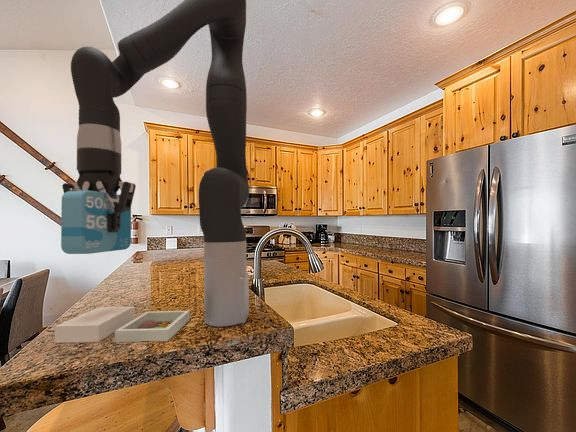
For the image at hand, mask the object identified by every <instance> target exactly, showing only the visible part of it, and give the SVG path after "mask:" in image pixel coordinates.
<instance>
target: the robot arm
mask: <svg viewBox="0 0 576 432" xmlns="http://www.w3.org/2000/svg"><path fill="white" fill-rule="evenodd" d="M206 26H208V29H209V35H210V43H211V61H210V66H209V70H208V71H207V72H208V73H207V78H206V83H205V113H206V119H207V123H208V128H209V131H210V132H209V133H210V135H211V138H212V142H213V145H214V150H215V158H216V162H215V163H216V164H215V165H216V167H213V168H210V169H208V170H207V171H205V173H204V174H203V176H202V177H201V179H200V182H199V186H198V209H199V210H198V213H199V225H200V229H201V232H202V234H203V269H204V270H203V275H204V276H203V277H204V278H203V285H204V286H203V290H204V293H203V294H204V295H203V299H204V305H203V306H204V323H205V324H206V325H208V326H211V327H219V328H220V327H230V326H235V325H240V324H245V323H246V322H247V319H248V317H249V315H250V295H249V294H250V290H249V289H250V288H249V287H250V283H249V282H250V281H249V272H247V270H248V268H247V264H248V263H247V259H248V258H247V229H246V227H245V226H244V224H243V220H242V208H244V206H245V205H246V203H247V202H248V199H249V195H250V185H249V184H250V183H249V177H248V169H247V168H248V167H247V157H246V156H247V155H246V145H247V144H246V142H247V110H248V109H247V108H248V107H247V105H248V104H247V99H248V98H247V84H246V77H245V71H244V66H243V65H244V63H243V52H244V41H245V34H246V26H247V0H183V1H181V2H180V3H179V4H177V6H175V7H174V8H173V9H171V10H170V11H169V12H168V13H166V14H165V15H163V16H162V17H161V18H159V19H157V20H156V21H153V23H151V24H148V25H147V26H145V27H143V28H141V29H139V30H137V31H134V32H133V33H131V34H129V35H127V36H124V37H123V38H122V39H119V41H118V42H117V49H118V51H119V54H118V56H117V57H116V58H115V59H114V60H113V61H112V59H110V58H109V56H107V54H105V53H104V52H103V51H102V50H100V49H98V48H95V47H93V46H82V47H80V48H78V49H77V50H76V51H75V52H74V54H73V55H72V58H71V61H70V72H71V73H70V75H71V79H72V83H73V88H74V93H75V96H76V99H77V102H78V129H77V135H76V171H77V172H78V178H77V180H76V181H75V182H71V183H68V182H64V183H63V184H62V190H63V194H64V193H66V192H68V191H86V190H89V191H96V192H103V193H104V203H105V204H106V206H107V208H108V211H109V213H110V214H108V232H118V229H120V227H121V213H122V212H125V211H129V210H130V208H131V209H132V204H133V199H134V196H135V191H136V184H135V183H133V182H129V181H123V180H122V177H121V175H122V140H121V114H120V110H119V107H118V106H117V104H116V103H115V101H114V98H117V97H120V96H123V95H124V94H126V93H127V92H128V91H130V89H132V88H133V87H134V86H135V85H136V84H137V83H139V81H140V80H141V79H142V78H143V76H145V75H146V74H147V73H149V72H151V71H154V70H155V69H157V68H160V67H161V66H163V65H165V64H166V63H168V62H169V61H171V60H172V59H174V57H175V56H177V55H178V54H179V52H181V50H182V49H183V48H184V47H185V45H186V44H187V43H188V41H189V40H190V39H192V37H193V36H194V35H195V34H196V33H197V32H198V31H200V30H201V29H202V28H204V27H206ZM119 190H120V194H118V191H119ZM117 194H118V195H120V198H119V197H118V195H117ZM114 195H116V199H112V198H110V197H113V196H114Z"/></svg>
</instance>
